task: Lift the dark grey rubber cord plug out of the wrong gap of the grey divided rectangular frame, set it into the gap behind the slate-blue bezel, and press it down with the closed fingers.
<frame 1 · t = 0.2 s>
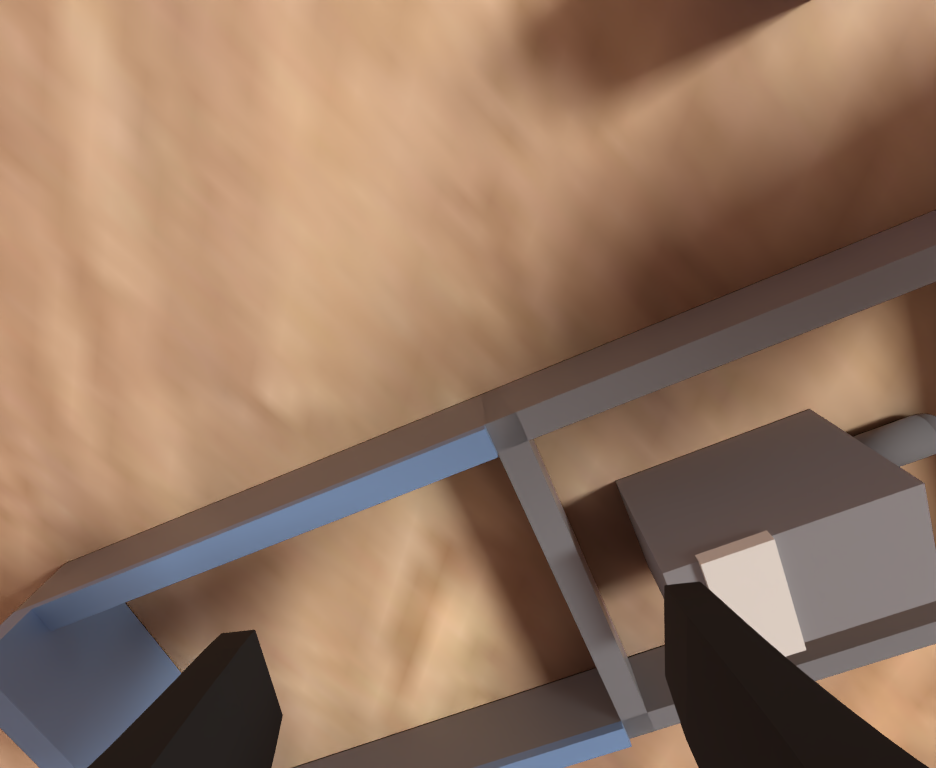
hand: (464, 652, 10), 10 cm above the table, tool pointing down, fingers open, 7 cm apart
cord plug: (724, 491, 20), resting in grey divided rectangular frame
grey divided rectangular frame: (553, 553, 21), on the table
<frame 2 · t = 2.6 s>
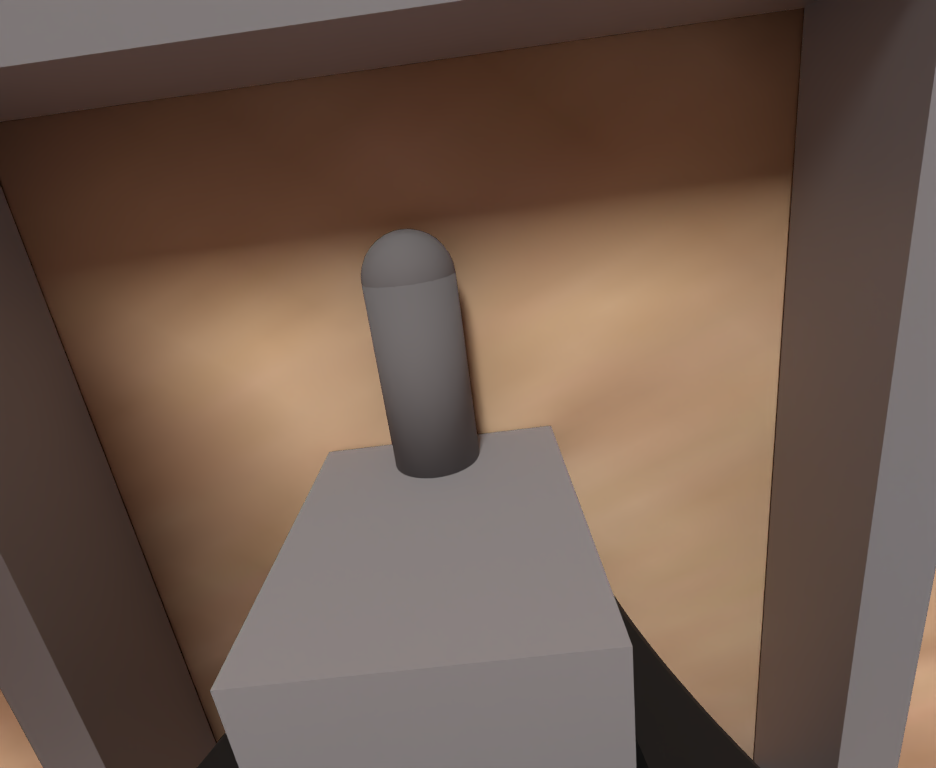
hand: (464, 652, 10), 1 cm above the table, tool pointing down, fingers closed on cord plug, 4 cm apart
cord plug: (464, 596, 11), resting in grey divided rectangular frame, touching gripper
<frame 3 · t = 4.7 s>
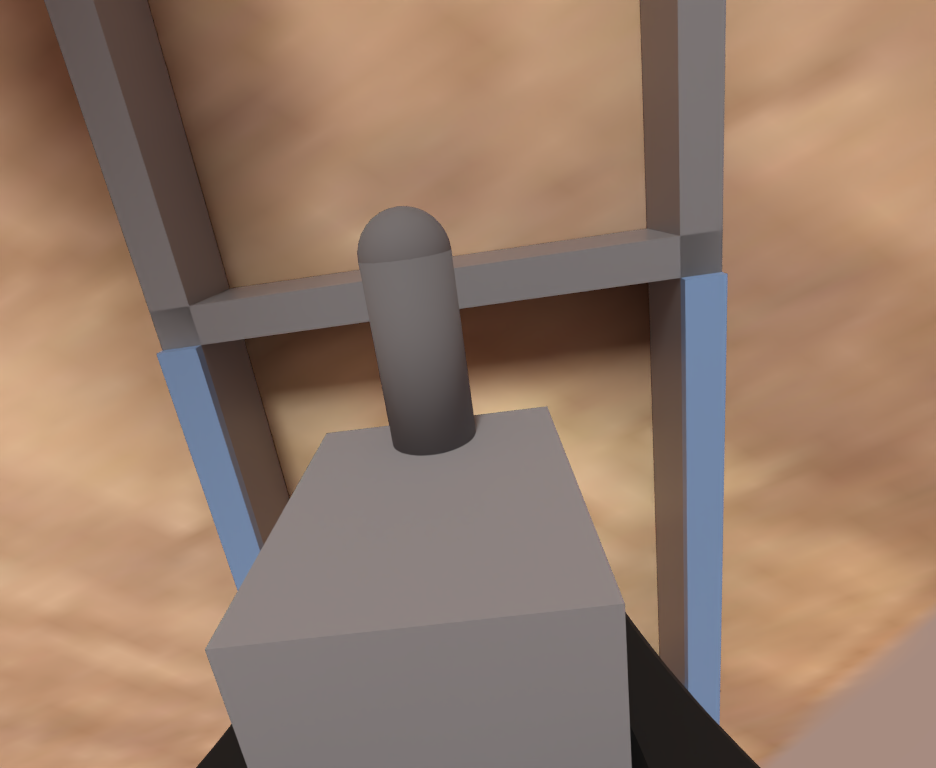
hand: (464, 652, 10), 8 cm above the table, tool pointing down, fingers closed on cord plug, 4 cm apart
cord plug: (461, 579, 11), point 7 cm above the table, touching gripper
grey divided rectangular frame: (440, 293, 16), on the table
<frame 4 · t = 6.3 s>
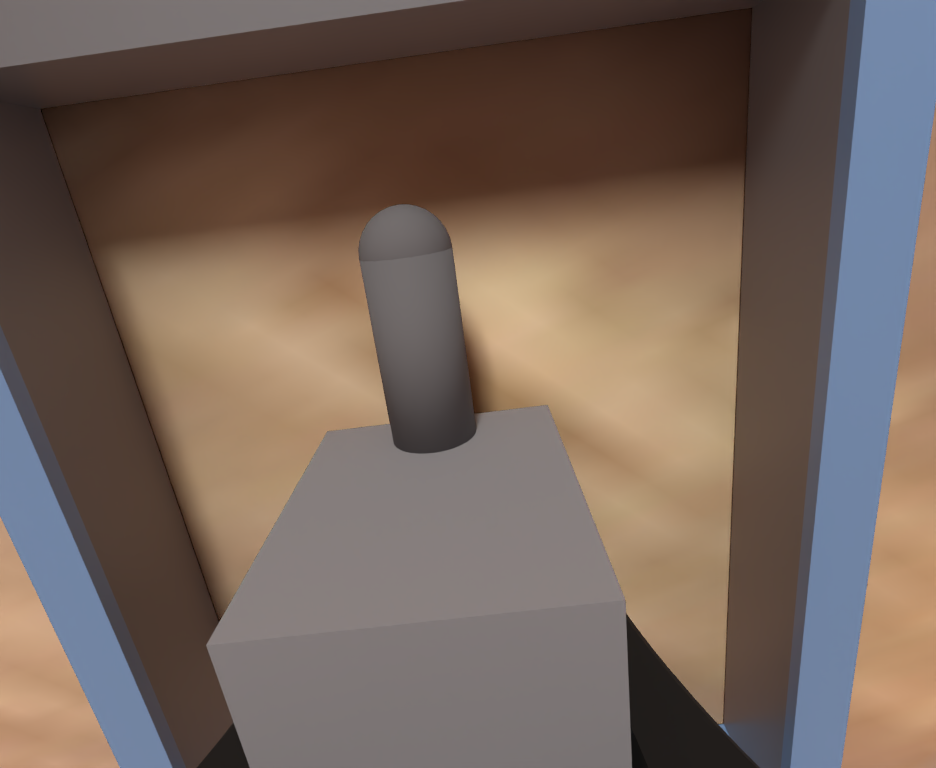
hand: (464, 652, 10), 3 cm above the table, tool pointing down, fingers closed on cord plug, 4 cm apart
cord plug: (461, 578, 11), point 1 cm above the table, touching gripper
grey divided rectangular frame: (388, 59, 9), on the table
when the fingers open (3 cm above the table, at t = 6.9 s): cord plug drops 1 cm, resting in grey divided rectangular frame.
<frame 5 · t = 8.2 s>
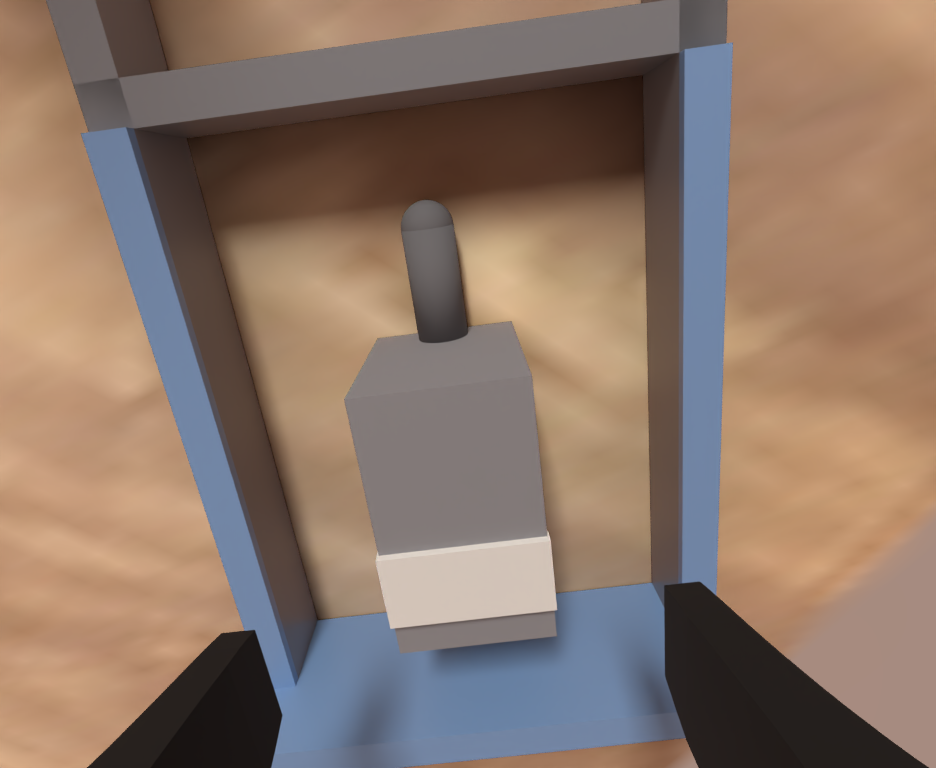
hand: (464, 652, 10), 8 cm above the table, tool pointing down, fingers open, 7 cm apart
cord plug: (460, 436, 18), resting in grey divided rectangular frame
grey divided rectangular frame: (411, 107, 14), on the table
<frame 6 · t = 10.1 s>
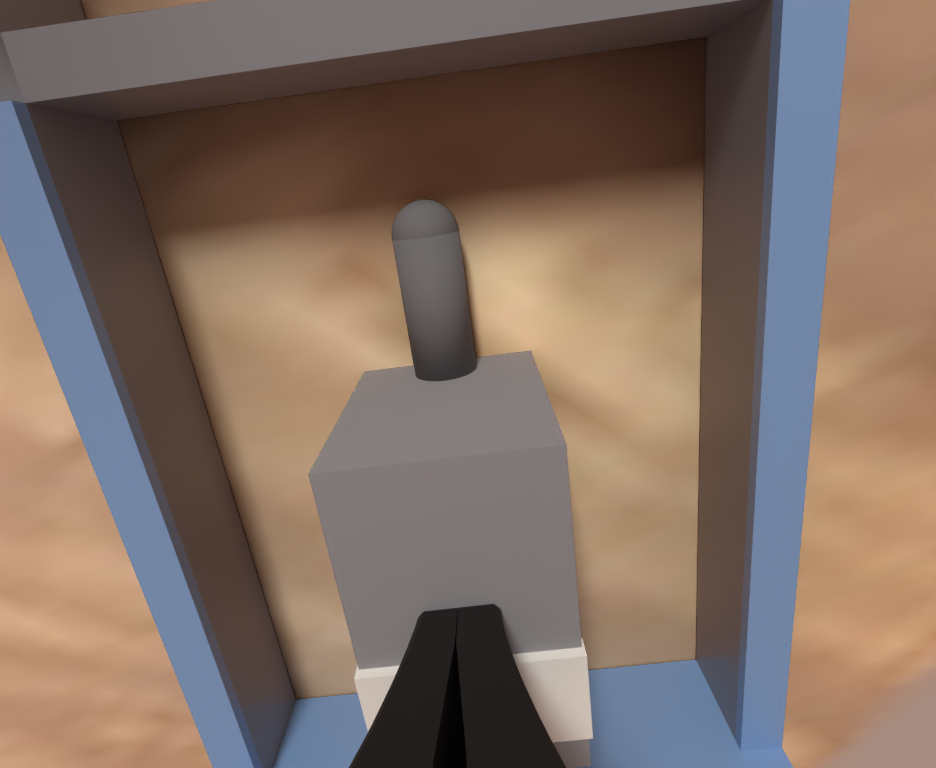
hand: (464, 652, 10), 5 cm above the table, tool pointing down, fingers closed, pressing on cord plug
cord plug: (466, 488, 14), resting in grey divided rectangular frame, touching gripper
grey divided rectangular frame: (405, 79, 11), on the table
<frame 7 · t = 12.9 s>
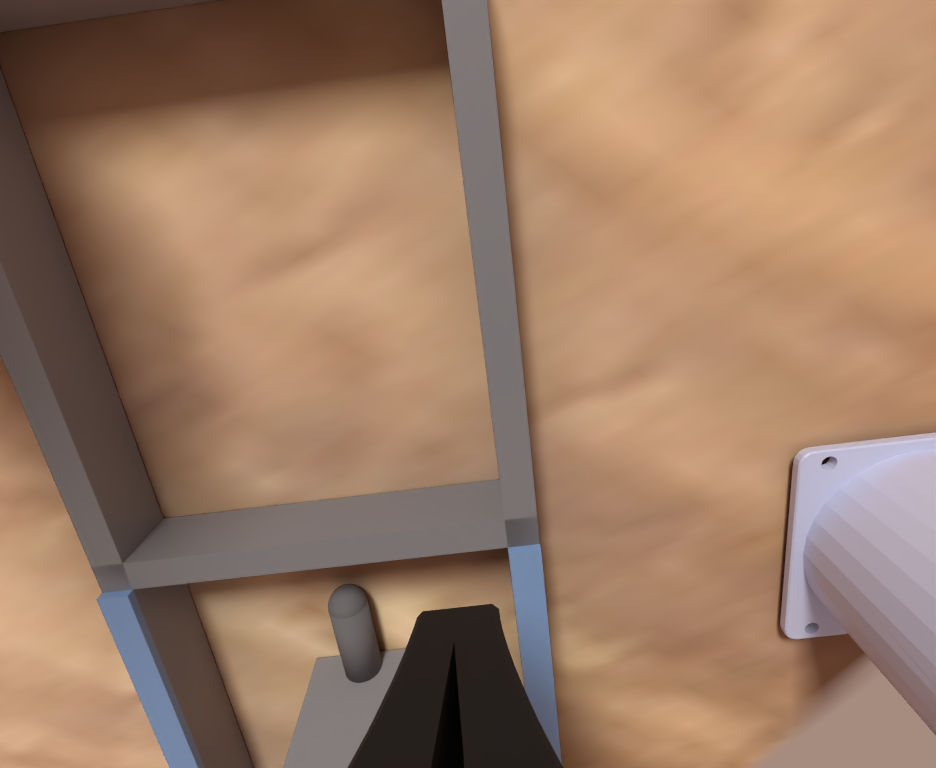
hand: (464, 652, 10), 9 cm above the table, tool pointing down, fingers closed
cord plug: (382, 717, 23), resting in grey divided rectangular frame
grey divided rectangular frame: (335, 523, 20), on the table
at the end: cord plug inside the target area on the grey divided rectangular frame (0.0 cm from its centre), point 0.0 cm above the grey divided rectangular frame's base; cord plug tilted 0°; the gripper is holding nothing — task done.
